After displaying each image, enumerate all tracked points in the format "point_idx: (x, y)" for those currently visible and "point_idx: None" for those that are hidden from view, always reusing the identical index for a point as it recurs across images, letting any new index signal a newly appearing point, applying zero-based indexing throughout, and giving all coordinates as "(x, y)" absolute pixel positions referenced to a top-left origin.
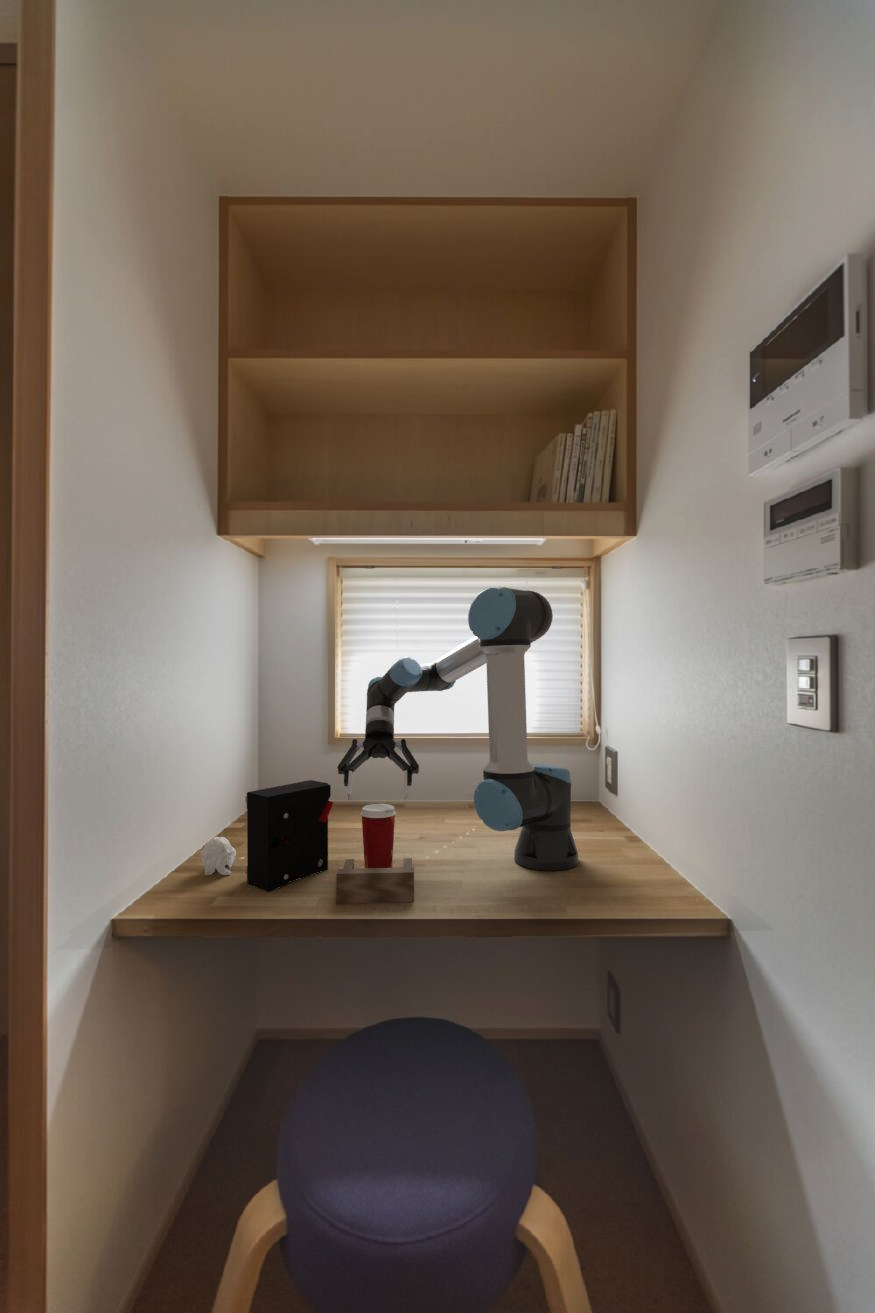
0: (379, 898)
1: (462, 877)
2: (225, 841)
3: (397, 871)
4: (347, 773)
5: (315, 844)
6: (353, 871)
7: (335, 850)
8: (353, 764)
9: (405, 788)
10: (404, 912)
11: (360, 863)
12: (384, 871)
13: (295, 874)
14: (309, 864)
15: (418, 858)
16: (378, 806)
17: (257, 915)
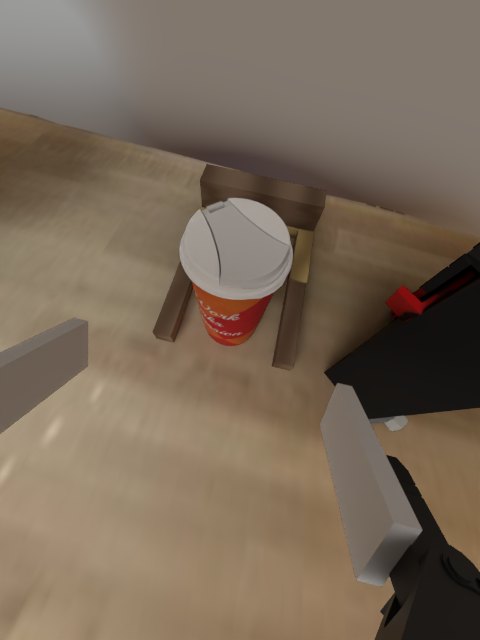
0: None
1: (95, 260)
2: None
3: (230, 172)
4: (420, 537)
5: (378, 335)
6: (299, 191)
7: (305, 527)
8: (424, 634)
9: (63, 328)
10: None
11: (255, 391)
12: (250, 178)
13: (386, 326)
14: (368, 340)
15: (121, 387)
16: (235, 245)
17: (408, 223)
